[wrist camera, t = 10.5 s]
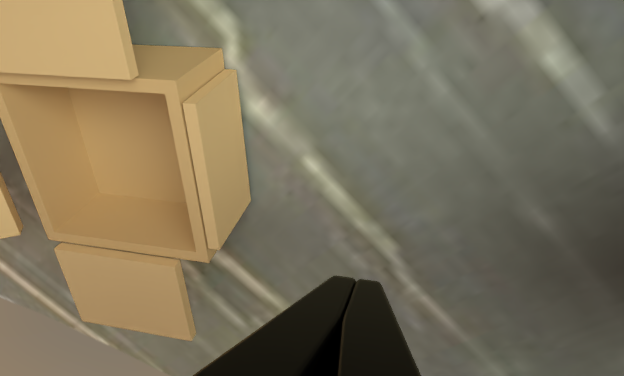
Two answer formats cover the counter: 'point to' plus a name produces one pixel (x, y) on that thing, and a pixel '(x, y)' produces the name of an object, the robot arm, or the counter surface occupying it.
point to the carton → (122, 155)
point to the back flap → (8, 214)
